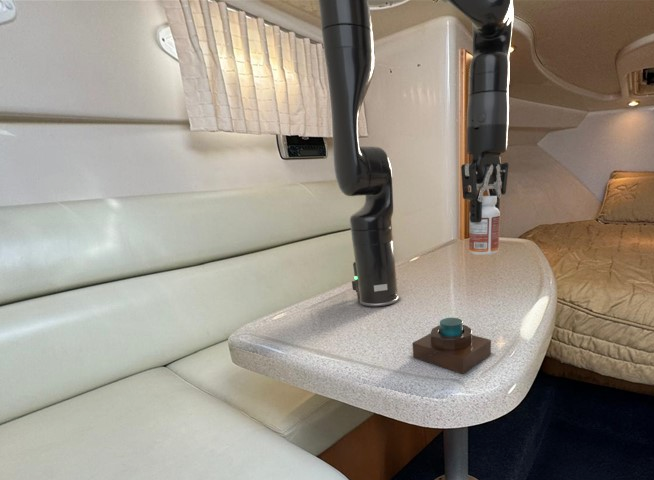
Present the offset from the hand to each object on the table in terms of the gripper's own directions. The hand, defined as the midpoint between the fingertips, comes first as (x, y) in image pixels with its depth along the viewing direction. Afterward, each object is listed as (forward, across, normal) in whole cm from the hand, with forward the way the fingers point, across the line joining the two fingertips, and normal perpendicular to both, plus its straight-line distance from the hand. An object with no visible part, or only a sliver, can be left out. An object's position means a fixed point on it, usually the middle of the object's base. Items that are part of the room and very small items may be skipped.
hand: (484, 219), depth 75 cm
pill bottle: (+7, 0, 0) cm, 7 cm away
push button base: (+18, +25, +10) cm, 33 cm away
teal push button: (+14, +25, +9) cm, 30 cm away
